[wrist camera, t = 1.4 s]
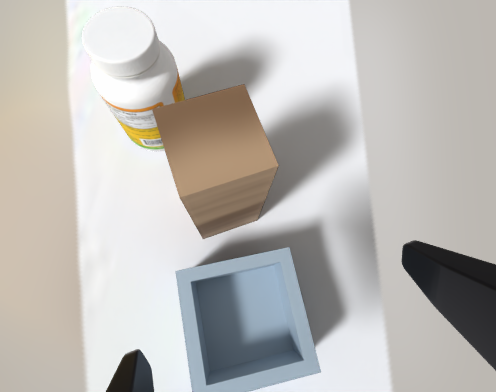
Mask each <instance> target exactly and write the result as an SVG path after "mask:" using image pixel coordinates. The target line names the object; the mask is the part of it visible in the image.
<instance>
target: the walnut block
mask: <svg viewBox="0 0 496 392" xmlns="http://www.w3.org/2000/svg"><path fill="white" fill-rule="evenodd" d="M152 111H153V114H154V117H155V120H156V123H157V127H158V130H159V133H160V136H161V139H162V143H163V146H164V149H165V152H166V155H167V159H168V162H169V165H170V168H171V171H172V175H173V178H174V181H175V184H176V187H177V191H178V194H179V197H180V199H181V201H182V203H183V204H184V206H185V208H186V210H187V211H188V213H189V215H190V217H191V219H192V220H193V222H194V224H195V226H196V227H197V229H198V231H199V233H200V234H201V236H202V238H203V239H205V238H208V237H211V236H214V235H216V234H219V233H222V232H225V231H228V230H231V229H234V228H237V227H239V226H242V225H245V224H248V223H251V222H254V221H257V220H258V217H259V215H260V212H261V210H262V207H263V205H264V202H265V199H266V197H267V194H268V192H269V189H270V187H271V184H272V182H273V179H274V177H275V174H276V171H277V169H278V166H279V165H278V163H277V161H276V158H275V156H274V153H273V151H272V149H271V146H270V144H269V142H268V139H267V137H266V135H265V132H264V130H263V127H262V125H261V123H260V120H259V118H258V116H257V113H256V111H255V108H254V106H253V104H252V101H251V99H250V97H249V94H248V92H247V90H246V87H245V85H244V84H243V85H239V86H235V87H231V88H228V89H224V90H220V91H217V92H213V93H209V94H206V95H202V96H198V97H195V98H191V99H187V100H183V101H180V102H176V103H172V104H169V105H165V106H161V107H158V108H154V109H152Z"/></svg>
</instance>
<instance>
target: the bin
mask: <svg viewBox="0 0 496 392" xmlns="http://www.w3.org/2000/svg"><path fill="white" fill-rule="evenodd" d="M176 278H177V285H178V293H179V300H180V307H181V314H182V321H183V329H184V336H185V343H186V350H187V357H188V364H189V372H190V379H191V386H192V392H248V391H252V390H256V389H260V388H263V387H267V386H271V385H275V384H279V383H282V382H286V381H290V380H294V379H297V378H301V377H305V376H309V375H312V374H316V373H320V372H321V370H320V366H319V362H318V358H317V354H316V350H315V347H314V343H313V339H312V335H311V331H310V327H309V323H308V319H307V315H306V311H305V307H304V303H303V299H302V295H301V291H300V287H299V283H298V279H297V275H296V271H295V267H294V263H293V259H292V255H291V251H290V247H287V248H282V249H278V250H273V251H268V252H263V253H259V254H254V255H249V256H245V257H240V258H235V259H230V260H226V261H221V262H216V263H212V264H207V265H202V266H197V267H193V268H188V269H183V270H179V271H176Z"/></svg>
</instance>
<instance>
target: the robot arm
mask: <svg viewBox="0 0 496 392" xmlns="http://www.w3.org/2000/svg"><path fill="white" fill-rule="evenodd" d="M402 265H403V267H404V269H405V270H406V271H407V273H408V274H409V275H410V276H411V278H412V279H413V280H414V282H415V283H416V284H417V285H418V287H419V288H420V289H421V290H422V292H423V293H424V294H425V295H426V297H427V298H428V299H429V300H430V302H431V303H432V304H433V305H434V306H435V307H436V309H438V311H439V312H440V313H441V314H442V315H443V316H444V317H445V318H446V319H447V320H448V321H449V322H450V323H451V324H452V325H453V326H454V327H455V328H456V330H458V332H459V333H460V334H461V335H462V336H463V337H464V338H465V339H466V340H467V341H468V342H469V343H470V344H471V345H472V346H473V347H474V348H475V349H476V350H477V352H479V353H480V355H481V356H482V357H483V358H484V359H485V360H486V361H487V362H488V363H489V364H490V365H491V366H492V367H493V368H494V369H495V370H496V265H495V264H492V263H489V262H486V261H482V260H479V259H476V258H472V257H469V256H466V255H463V254H459V253H456V252H453V251H449V250H446V249H443V248H439V247H436V246H433V245H430V244H426V243H423V242H419V241H411V242H409V243H406V244H404V245H403V250H402ZM106 392H154V387H153V378H152V370H151V367H150V364H149V363H148V361H147V359H146V358H145V356H144V355H143V353H142V352H141V351H140V350H139V349H137V350H134V351H131V352H129V353H127V354H125V355H124V357H123V358H122V360H121V362H120V364H119V366H118V368H117V370H116V372H115V374H114V376H113V378H112V380H111V382H110V384H109V386H108V388H107V390H106Z"/></svg>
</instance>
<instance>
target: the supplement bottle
mask: <svg viewBox="0 0 496 392" xmlns="http://www.w3.org/2000/svg"><path fill="white" fill-rule="evenodd" d="M82 42H83V45H84V48H85V49H86V51H87V53H88V55H89V57H90V58H91V61H92V63H91V78H92V81H93V83H94V86H95V87H96V89H97V91H98V92H99V94H100V95H101V97H102V98H103V100H104V101H105V102H106V104H107V105H108V107H109V108H110V110H111V111H112V113H113V114H114V116H115V117H116V119H117V120H118V122H119V123H120V124H121V126H122V127H123V129H124V130H125V132H126V133H127V135H128V136H129V138H130V139H131V140H132V141H133V142H134V143H135V144H136V145H137V146H139V147H140V148H142V149H145V150H149V151H165V149H164V146H163V143H162V139H161V136H160V133H159V130H158V127H157V123H156V120H155V117H154V114H153V111H152V109H154V108H158V107H161V106H165V105H169V104H172V103H176V102H180V101H183V100H185V98H184V94H183V90H182V86H181V82H180V78H179V73H178V69H177V66H176V62H175V59H174V57H173V55H172V53H171V52H170V50H169V49H168V48H167V47H166V46H165V45H164V44H163V43H162V42H161V41H159V39H158V37H157V34H156V31H155V27H154V25H153V23H152V21H151V20H150V18H149V17H148V16H147V15H146V14H144V13H143V12H141V11H139V10H137V9H135V8H131V7H124V6H117V7H111V8H107V9H104V10H102V11H100V12H98V13H96V14H95V15H93V16H92V17H91V18H90V19H89V20H88V21H87V23H86V24H85V26H84V29H83V32H82Z"/></svg>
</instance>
